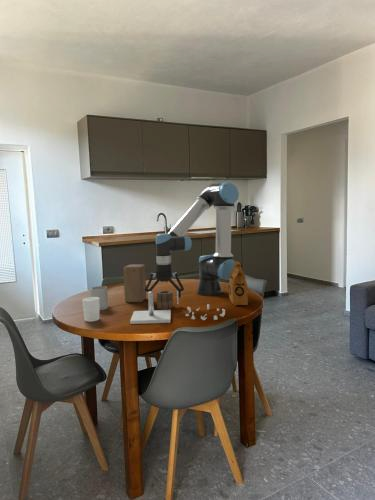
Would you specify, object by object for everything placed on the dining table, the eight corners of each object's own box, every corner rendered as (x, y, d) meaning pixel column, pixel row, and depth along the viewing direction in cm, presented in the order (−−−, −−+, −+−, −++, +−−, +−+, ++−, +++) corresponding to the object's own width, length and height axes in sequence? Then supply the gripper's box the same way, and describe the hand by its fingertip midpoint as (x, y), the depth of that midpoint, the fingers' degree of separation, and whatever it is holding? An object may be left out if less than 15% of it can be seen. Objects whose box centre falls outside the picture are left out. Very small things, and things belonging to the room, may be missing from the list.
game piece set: (177, 316, 179) (176, 308, 179) (205, 307, 193) (205, 300, 192) (206, 324, 165) (206, 315, 165) (235, 314, 179) (234, 306, 179)
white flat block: (170, 312, 183) (170, 309, 183) (170, 322, 167) (170, 319, 167) (134, 314, 183) (133, 311, 183) (130, 324, 167) (130, 320, 167)
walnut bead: (172, 305, 198) (172, 290, 197) (172, 309, 190) (172, 293, 190) (157, 305, 198) (157, 290, 197) (157, 309, 190) (156, 294, 189)
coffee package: (230, 306, 192) (229, 264, 190) (228, 300, 205) (227, 261, 202) (249, 306, 192) (249, 264, 190) (246, 300, 204) (246, 260, 202)
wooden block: (141, 302, 205) (140, 266, 203) (124, 302, 207) (122, 266, 205) (147, 298, 214) (145, 264, 212) (130, 298, 216) (129, 264, 214)
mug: (105, 310, 191) (104, 289, 189) (89, 310, 192) (87, 289, 190) (112, 304, 202) (111, 284, 201) (97, 304, 204) (96, 284, 202)
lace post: (154, 314, 176) (153, 291, 175) (153, 315, 174) (152, 292, 173) (149, 314, 176) (148, 291, 175) (148, 315, 174) (147, 292, 173)
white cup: (85, 317, 179) (83, 297, 178) (101, 316, 179) (100, 296, 178) (81, 322, 171) (80, 301, 170) (99, 321, 172) (98, 300, 171)
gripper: (138, 265, 188) (140, 306, 190) (188, 264, 188) (189, 305, 191) (140, 263, 195) (141, 302, 197) (187, 262, 196) (188, 301, 198)
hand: (164, 304), depth 194 cm, fingers open, 13 cm apart
